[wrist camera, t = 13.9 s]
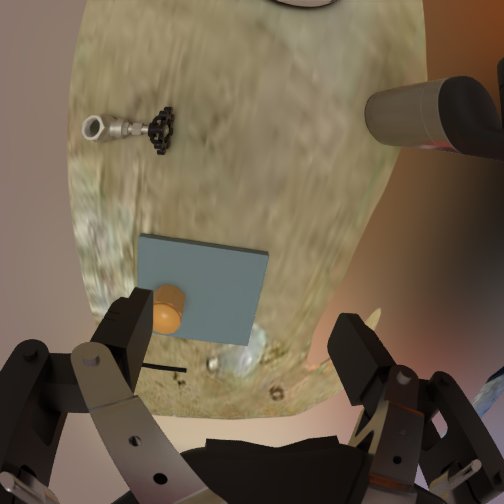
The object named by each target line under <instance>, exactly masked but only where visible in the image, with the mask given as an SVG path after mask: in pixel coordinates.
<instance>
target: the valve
mask: <svg viewBox="0 0 504 504" xmlns="http://www.w3.org/2000/svg"><path fill="white" fill-rule="evenodd" d="M172 110H173V108H172V107H165V108H164V111H160V113H159V115H158V116H156V117H155V118H154V119H153V121H152V123H150V124H149V126H145V125H144V123H133V125H131V123H129V121H128V119H127V118H119V119H117V118H113V117H112V116H110V115H108V114H101V115H90V116H88V117H87V118H86V119H85V121H84V123H83V124H82V126H81V131H82V134H83V137H84V139H85V140H93V141H95V142H97V143H104V142H107V141H109V140H115V139H125V138H126V136H127V135H129V134H130V133H132V135H143V133H148V136H149V137H150V141H151V143H152V144H154V148H155V149H161V150H157V154H158V155H165V153H166V149H169V147H170V141H169V138H170V136H172V134H173V128H171V125H172V122H173V121H174V115H173V114H172ZM157 120H161V123H157ZM164 136H165V137H164ZM155 137H158V140H155V139H154V138H155Z"/></svg>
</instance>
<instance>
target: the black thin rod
mask: <svg viewBox="0 0 504 504" xmlns="http://www.w3.org/2000/svg"><path fill="white" fill-rule="evenodd" d="M142 367H146V368H152V369H158V370H167V371H177V372H184V373H186V368H177V367H166V366H160V365H154V364H146V363H143V364H142Z"/></svg>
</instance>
